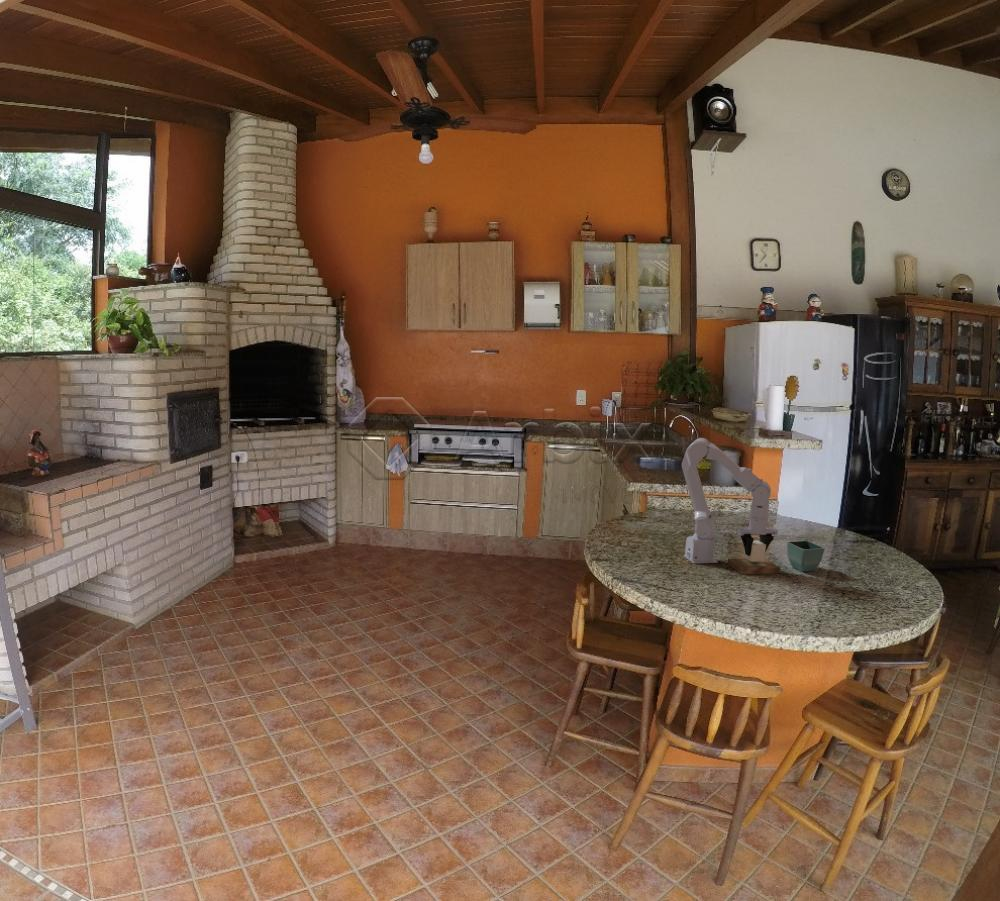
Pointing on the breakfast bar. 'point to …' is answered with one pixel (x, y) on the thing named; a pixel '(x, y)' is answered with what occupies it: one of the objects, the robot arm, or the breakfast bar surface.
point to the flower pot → (804, 555)
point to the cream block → (756, 552)
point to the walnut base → (753, 566)
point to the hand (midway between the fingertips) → (754, 554)
